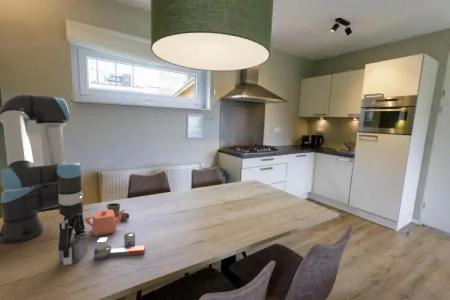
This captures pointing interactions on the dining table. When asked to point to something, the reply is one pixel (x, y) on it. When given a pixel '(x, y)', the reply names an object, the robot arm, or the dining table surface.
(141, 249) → the ratchet
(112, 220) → the teapot
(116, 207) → the pipe
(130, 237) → the socket
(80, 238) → the grey square box
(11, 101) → the robot arm
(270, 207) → the dining table surface
